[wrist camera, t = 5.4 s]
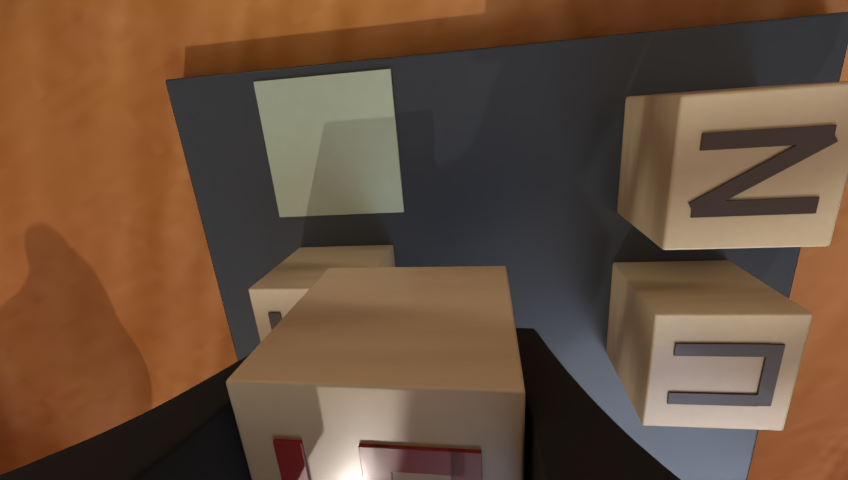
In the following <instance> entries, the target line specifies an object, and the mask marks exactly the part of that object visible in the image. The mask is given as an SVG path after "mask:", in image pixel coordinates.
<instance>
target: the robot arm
mask: <svg viewBox="0 0 848 480" xmlns="http://www.w3.org/2000/svg"><path fill="white" fill-rule="evenodd" d="M516 334H517V340H518V347H519V353H520V360H521V366H522V373H523V379H524V386H525V451H524V480H681V479H679V478H678V477H677V476H676V475H674V474H673V473H672V472H671V471H669V470H668V469H667V468H666V467H665V466H663V465H662V464H661V463H660V462H659V461H658V460H656V459H655V458H654V457H653V456H652V455H651V454H649V453H648V452H647V451H646V450H645V449H644V448H643V447H641V446H640V445H639V444H638V443H637V442H636V441H634V440H633V439H632V438H631V437H630V436H629V435H628V434H627V433H626V432H625V431H624V430H623V429H622V428H621V427H620V426H619V425H617V424H616V423H615V422H614V421H613V420H612V418H611V417H610V416H609V415H608V414H607V413H606V412H605V411H604V410H603V409H602V408H601V407H600V406H599V405H598V404H597V403H596V402H595V401H594V400H593V399H592V398H591V397H590V396H589V395H588V394H587V393H586V391H585V390H584V389H583V388H582V387H581V386H580V385H579V384H578V382H577V381H576V380H575V379H574V378H573V377H572V376H571V375H570V373H569V372H568V371H567V370H566V369H565V367H564V366H563V365H562V364H561V363H560V361H559V360H558V359H557V358H556V356H555V355H554V354H553V352H552V351H551V350H550V349H549V347H548V346H547V345H546V343H545V342H544V340H543V339H542V338H541V336H540V335H539V333H538V332H537V331H536V330H535V329H534V328H516ZM249 355H250V354H249ZM249 355H248V356H249ZM248 356H246V357H244V358H243V359H241V360H239V361H238V362H236V363H234V364H233V365H231V366H229V367H228V368H226V369H224V370H223V371H221V372H219V373H217V374H216V375H214V376H212V377H210V378H209V379H207V380H205V381H203V382H201V383H200V384H198V385H196V386H194V387H192V388H191V389H189V390H187V391H185V392H183V393H182V394H180V395H178V396H176V397H175V398H173V399H171V400H169V401H167V402H165V403H163V404H161V405H159V406H158V407H156V408H154V409H152V410H150V411H148V412H146V413H144V414H142V415H140V416H138V417H135V418H133V419H131V420H129V421H127V422H125V423H123V424H121V425H119V426H116V427H114V428H112V429H110V430H108V431H106V432H104V433H101V434H99V435H97V436H95V437H93V438H90V439H88V440H85V441H83V442H81V443H78V444H76V445H73V446H71V447H69V448H66V449H64V450H61V451H59V452H57V453H54V454H52V455H49V456H47V457H44V458H42V459H40V460H37V461H35V462H32V463H30V464H28V465H25V466H23V467H20V468H18V469H15V470H13V471H10V472H7V473H5V474H2V475H0V480H252V479H251V475H250V471H249V468H248V464H247V460H246V456H245V453H244V449H243V445H242V442H241V438H240V434H239V430H238V427H237V423H236V419H235V415H234V412H233V408H232V404H231V401H230V397H229V393H228V389H227V386H226V381H227V379H228V378H229V377H230V376H231V375H232V374H233V372H234V371H235V370H236V369H237V368H238V367H239V366H240V365H241V364H242V363H243V361H244V360H245V359H246V358H247V357H248Z"/></svg>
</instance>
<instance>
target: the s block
mask: <svg viewBox="0 0 848 480" xmlns="http://www.w3.org/2000/svg"><path fill="white" fill-rule="evenodd" d="M226 386H227V389H228V393H229V397H230V401H231V404H232V408H233V412H234V415H235V419H236V423H237V427H238V430H239V434H240V438H241V442H242V445H243V449H244V453H245V456H246V460H247V464H248V468H249V471H250V475H251V479H252V480H524V451H525V386H524V379H523V373H522V366H521V360H520V353H519V347H518V340H517V334H516V327H515V321H514V314H513V308H512V301H511V295H510V288H509V282H508V275H507V269H506V266H454V267H370V268H328V269H327V270H326V271H325V272H324V274H323V275H322V276H321V277H320V278H319V279H318V280H317V281H316V282H315V283H314V285H313V286H312V287H311V288H310V289H309V290H308V291H307V292H306V293H305V294H304V296H303V297H302V298H301V299H300V300H299V301H298V302H297V303H296V304H295V305H294V307H293V308H292V309H291V310H290V311H289V312H288V313H287V314H286V315H285V316H284V318H283V319H282V320H281V321H280V322H279V323H278V324H277V325H276V326H275V327H274V329H273V330H272V331H271V332H270V333H269V334H268V335H267V336H266V337H265V338H264V340H263V341H262V342H261V343H260V344H259V345H258V346H257V347H256V348H255V349H254V351H253V352H252V353H251V354H250V355H249V356H248V357H247V358H246V359H245V360H244V361H243V363H242V364H241V365H240V366H239V367H238V368H237V369H236V370H235V371H234V372H233V374H232V375H231V376H230V377H229V378H228V379H227V381H226Z"/></svg>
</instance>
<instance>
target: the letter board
mask: <svg viewBox="0 0 848 480" xmlns="http://www.w3.org/2000/svg"><path fill="white" fill-rule="evenodd" d="M847 45H848V12H841V13H831V14H820V15H810V16H800V17H790V18H780V19H770V20H760V21H750V22H740V23H730V24H720V25H710V26H700V27H690V28H680V29H670V30H660V31H650V32H640V33H630V34H620V35H610V36H600V37H590V38H580V39H570V40H560V41H549V42H539V43H529V44H519V45H509V46H499V47H489V48H479V49H469V50H459V51H449V52H439V53H429V54H419V55H409V56H399V57H389V58H379V59H369V60H359V61H349V62H339V63H329V64H319V65H309V66H299V67H289V68H279V69H268V70H258V71H248V72H238V73H228V74H218V75H208V76H198V77H188V78H178V79H168V80H166V85H167V89H168V93H169V97H170V101H171V105H172V108H173V112H174V116H175V120H176V124H177V128H178V132H179V135H180V139H181V143H182V147H183V151H184V155H185V159H186V162H187V166H188V170H189V174H190V178H191V182H192V186H193V189H194V193H195V197H196V201H197V205H198V209H199V213H200V216H201V220H202V224H203V228H204V232H205V236H206V240H207V243H208V247H209V251H210V255H211V259H212V263H213V267H214V271H215V274H216V278H217V282H218V286H219V290H220V294H221V298H222V301H223V305H224V309H225V313H226V317H227V321H228V325H229V328H230V332H231V336H232V340H233V344H234V348H235V352H236V355H237V359H238V361H239V360H241V359H243V358H244V357H246V356H248V355H249V354H251V353H252V352H253V351H254V349H255V348H256V347H257V346H258V345H259V344H260V343H261V342H262V341H263V340H264V338H265V337H266V336H267V335H268V334H269V333H270V332H271V331H272V330H273V329H274V327H275V326H276V325H277V324H278V323H279V322H280V321H281V320H282V319H283V318H284V316H285V315H286V314H287V313H288V312H289V311H290V310H291V309H292V308H293V307H294V305H295V304H296V303H297V302H298V301H299V300H300V299H301V298H302V297H303V296H304V294H305V293H306V292H307V291H308V290H309V289H310V288H311V287H312V286H313V285H314V283H315V282H316V281H317V280H318V279H319V278H320V277H321V276H322V275H323V274H324V272H325V271H326V270H327V269H328V268H370V267H454V266H506V269H507V275H508V282H509V288H510V295H511V301H512V308H513V314H514V321H515V327H516V328H534V329H535V330H536V331H537V332H538V333H539V335H540V336H541V338H542V339H543V340H544V342H545V343H546V345H547V346H548V347H549V349H550V350H551V351H552V352H553V354H554V355H555V356H556V358H557V359H558V360H559V361H560V363H561V364H562V365H563V366H564V367H565V369H566V370H567V371H568V372H569V373H570V375H571V376H572V377H573V378H574V379H575V380H576V381H577V382H578V384H579V385H580V386H581V387H582V388H583V389H584V390H585V391H586V393H587V394H588V395H589V396H590V397H591V398H592V399H593V400H594V401H595V402H596V403H597V404H598V405H599V406H600V407H601V408H602V409H603V410H604V411H605V412H606V413H607V414H608V415H609V416H610V417H611V418H612V420H613V421H614V422H615V423H616V424H617V425H619V426H620V427H621V428H622V429H623V430H624V431H625V432H626V433H627V434H628V435H629V436H630V437H631V438H632V439H633V440H634V441H636V442H637V443H638V444H639V445H640V446H641V447H643V448H644V449H645V450H646V451H647V452H648V453H649V454H651V455H652V456H653V457H654V458H655V459H656V460H658V461H659V462H660V463H661V464H662V465H663V466H665V467H666V468H667V469H668V470H669V471H671V472H672V473H673V474H674V475H676V476H677V477H678V478H679V479H681V480H747V477H748V473H749V469H750V464H751V460H752V456H753V451H754V447H755V443H756V438H757V434H758V430H783V429H784V425H785V421H786V417H787V413H788V409H789V405H790V401H791V397H792V393H793V389H794V386H795V382H796V378H797V374H798V370H799V366H800V362H801V358H802V354H803V350H804V346H805V343H806V339H807V335H808V331H809V327H810V323H811V319H812V313H810V312H809V311H807V310H806V309H804V308H803V307H801V306H799V305H798V304H796V303H795V302H793V301H792V300H790V299H789V296H790V292H791V287H792V283H793V279H794V274H795V270H796V266H797V261H798V257H799V253H800V248H801V247H818V246H829V245H830V243H831V239H832V235H833V231H834V227H835V223H836V219H837V215H838V211H839V207H840V204H841V200H842V196H843V192H844V188H845V184H846V180H847V176H848V81H844V82H839V80H840V76H841V71H842V67H843V63H844V58H845V54H846V50H847Z"/></svg>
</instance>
